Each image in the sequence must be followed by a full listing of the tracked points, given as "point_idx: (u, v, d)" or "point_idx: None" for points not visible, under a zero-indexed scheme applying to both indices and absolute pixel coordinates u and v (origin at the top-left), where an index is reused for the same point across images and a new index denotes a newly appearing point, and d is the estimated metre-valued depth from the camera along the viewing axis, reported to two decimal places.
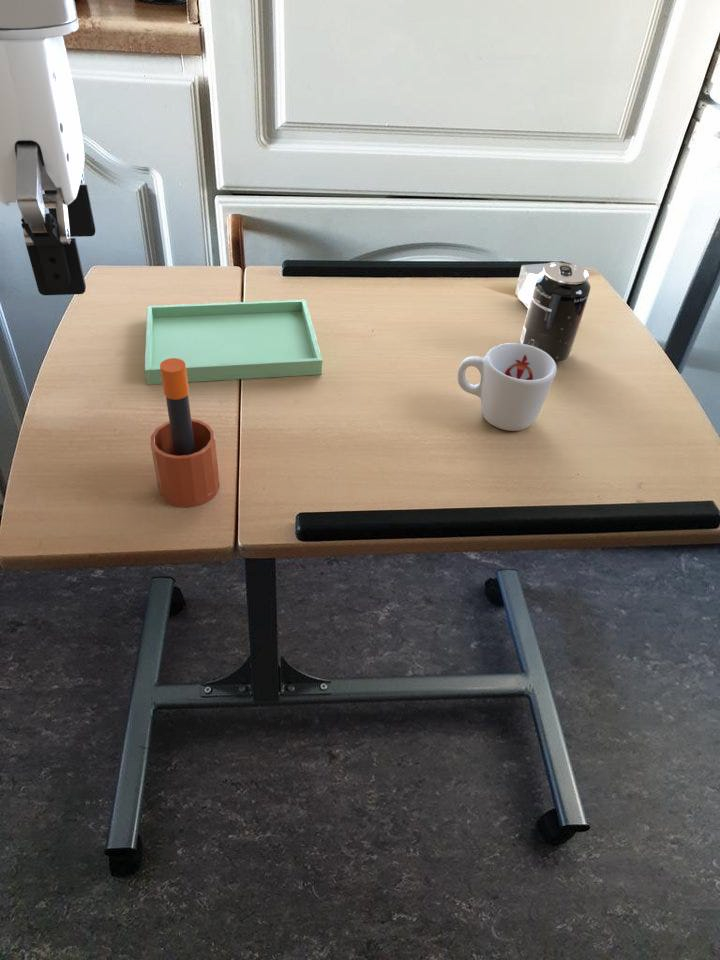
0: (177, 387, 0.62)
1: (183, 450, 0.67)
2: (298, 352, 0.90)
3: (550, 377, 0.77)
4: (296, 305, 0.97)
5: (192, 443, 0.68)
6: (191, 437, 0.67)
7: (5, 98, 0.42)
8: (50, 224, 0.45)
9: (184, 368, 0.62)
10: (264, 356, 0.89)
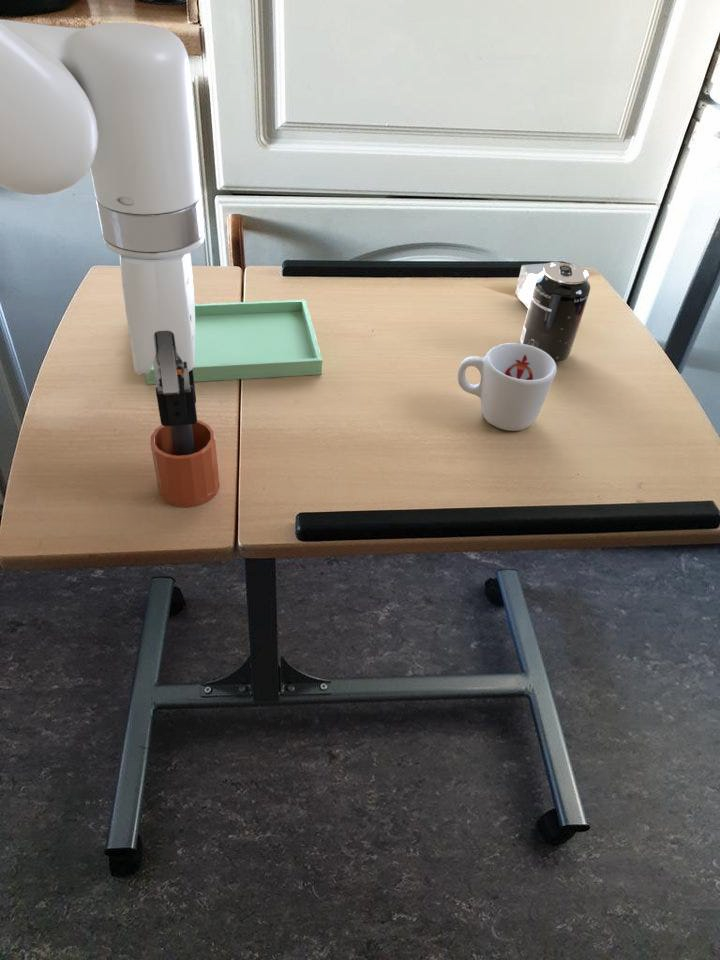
0: None
1: (182, 450, 0.67)
2: (298, 352, 0.90)
3: (550, 377, 0.77)
4: (296, 305, 0.97)
5: (192, 443, 0.68)
6: (191, 437, 0.67)
7: (151, 302, 0.52)
8: (181, 383, 0.59)
9: None
10: (264, 356, 0.89)
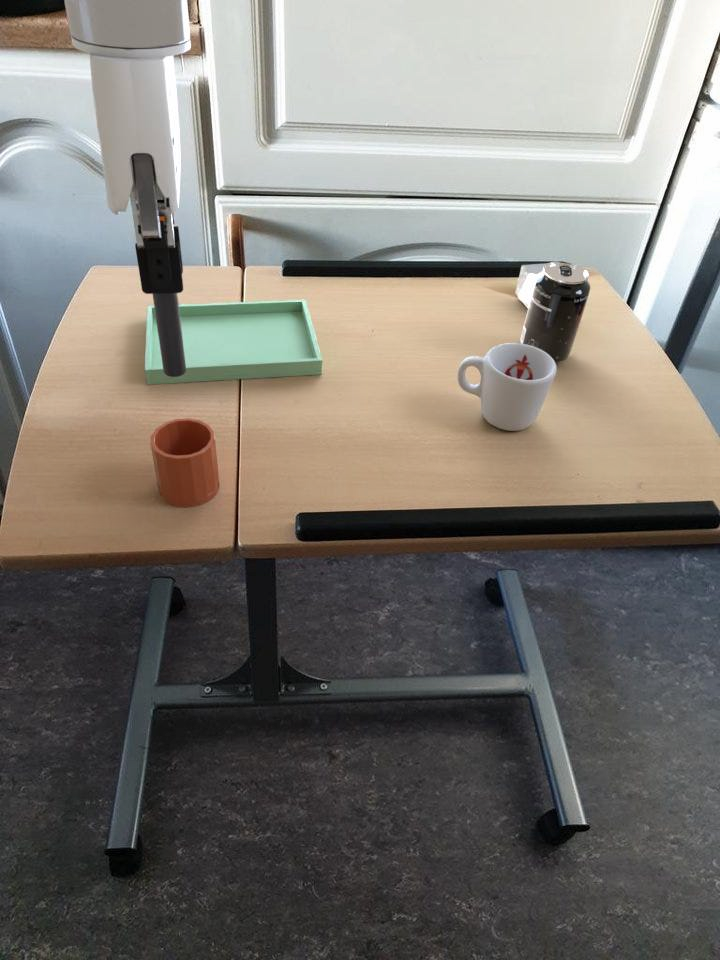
0: None
1: (167, 328, 0.59)
2: (298, 352, 0.90)
3: (550, 377, 0.77)
4: (296, 305, 0.97)
5: (178, 321, 0.60)
6: (177, 313, 0.59)
7: (126, 113, 0.45)
8: (163, 230, 0.51)
9: None
10: (264, 356, 0.89)
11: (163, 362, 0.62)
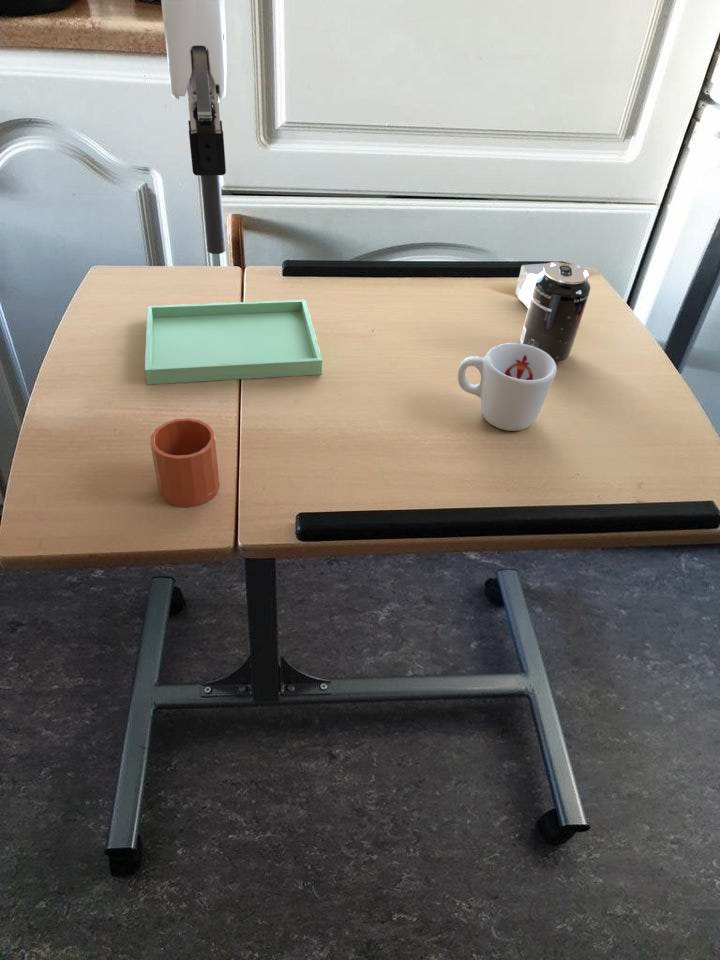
0: None
1: (212, 208, 0.72)
2: (298, 352, 0.90)
3: (550, 377, 0.77)
4: (296, 305, 0.97)
5: (220, 203, 0.73)
6: (220, 196, 0.72)
7: (188, 12, 0.57)
8: (213, 114, 0.64)
9: None
10: (264, 356, 0.89)
11: (207, 241, 0.75)
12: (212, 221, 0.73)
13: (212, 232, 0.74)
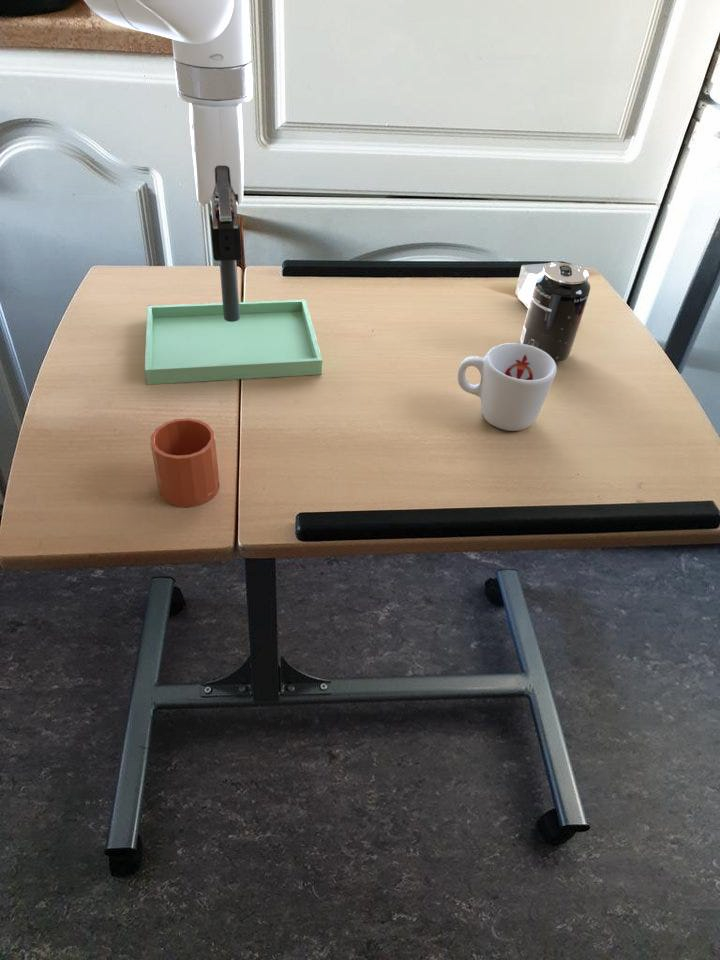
0: None
1: (229, 285, 0.85)
2: (298, 352, 0.90)
3: (550, 377, 0.77)
4: (296, 305, 0.97)
5: (236, 281, 0.85)
6: (236, 275, 0.85)
7: (214, 140, 0.70)
8: (232, 216, 0.76)
9: None
10: (264, 356, 0.89)
11: (224, 311, 0.88)
12: (229, 295, 0.86)
13: (229, 304, 0.87)
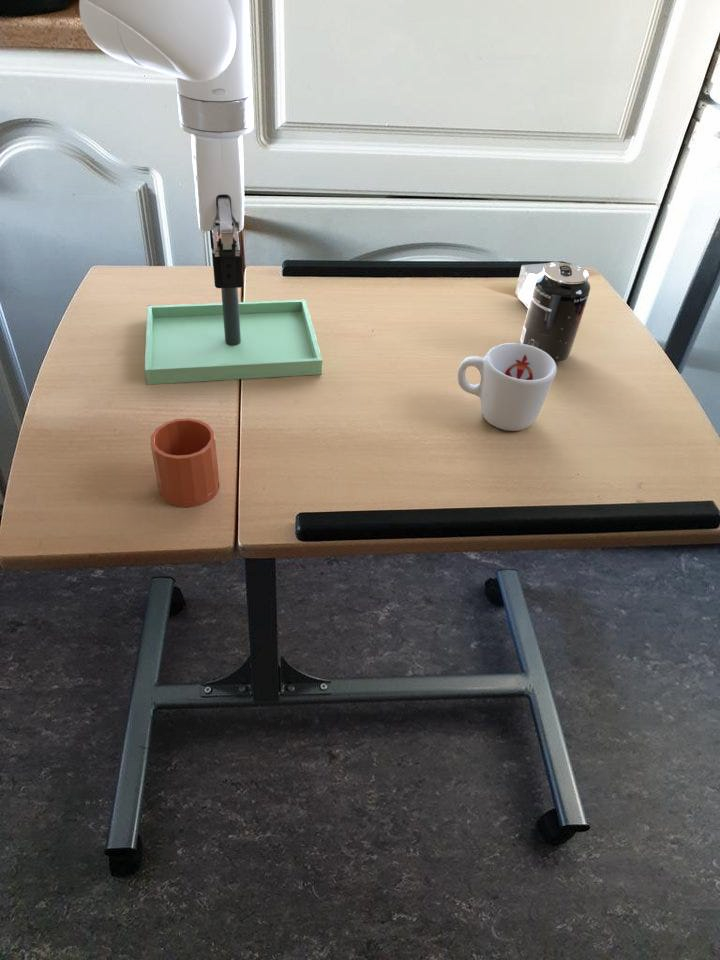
0: None
1: (230, 311, 0.87)
2: (298, 352, 0.90)
3: (550, 377, 0.77)
4: (296, 305, 0.97)
5: (237, 306, 0.87)
6: (237, 301, 0.87)
7: (215, 171, 0.72)
8: (234, 244, 0.75)
9: None
10: (264, 356, 0.89)
11: (226, 335, 0.90)
12: (230, 320, 0.88)
13: (230, 329, 0.89)
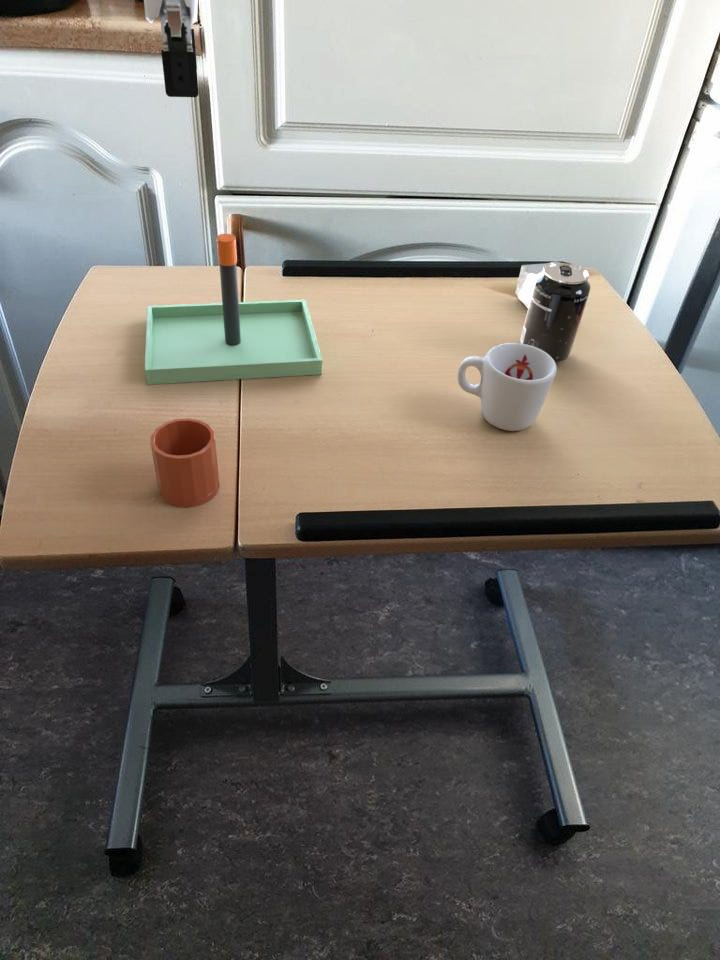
0: (229, 255, 0.82)
1: (230, 311, 0.87)
2: (298, 352, 0.90)
3: (550, 377, 0.77)
4: (296, 305, 0.97)
5: (237, 306, 0.87)
6: (237, 301, 0.87)
7: None
8: (184, 29, 0.65)
9: (234, 240, 0.82)
10: (264, 356, 0.89)
11: (226, 335, 0.90)
12: (230, 320, 0.88)
13: (230, 329, 0.89)
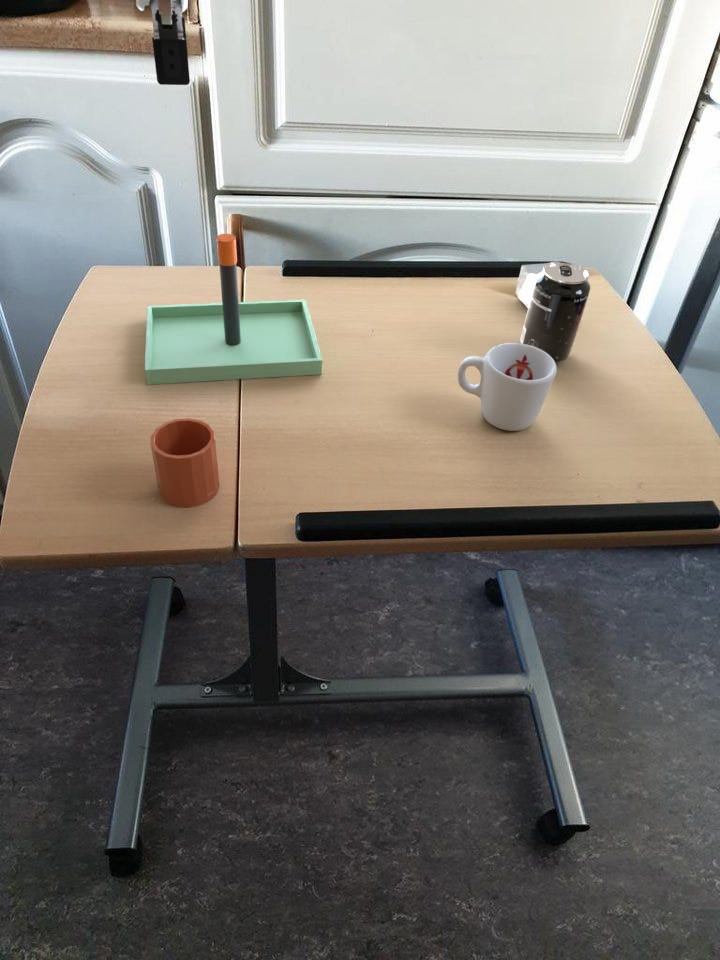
0: (229, 255, 0.82)
1: (230, 311, 0.87)
2: (298, 352, 0.90)
3: (550, 377, 0.77)
4: (296, 305, 0.97)
5: (237, 306, 0.87)
6: (237, 301, 0.87)
7: None
8: (175, 17, 0.65)
9: (234, 240, 0.82)
10: (264, 356, 0.89)
11: (226, 335, 0.90)
12: (230, 320, 0.88)
13: (230, 329, 0.89)
